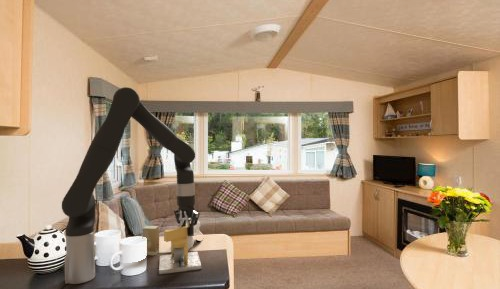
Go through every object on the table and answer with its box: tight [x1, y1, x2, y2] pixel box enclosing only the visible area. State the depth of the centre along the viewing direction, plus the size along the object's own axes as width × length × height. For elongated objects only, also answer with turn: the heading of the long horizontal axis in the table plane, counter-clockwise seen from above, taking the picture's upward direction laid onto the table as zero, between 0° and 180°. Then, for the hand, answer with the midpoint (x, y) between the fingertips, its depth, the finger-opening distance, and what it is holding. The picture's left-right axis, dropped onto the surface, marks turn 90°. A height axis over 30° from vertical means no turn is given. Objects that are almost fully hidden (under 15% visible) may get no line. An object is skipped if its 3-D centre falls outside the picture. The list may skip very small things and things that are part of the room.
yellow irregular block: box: [163, 226, 194, 248], centre depth 128 cm, size 12×6×7 cm, turn 130°
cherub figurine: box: [176, 218, 204, 251], centre depth 154 cm, size 13×12×20 cm
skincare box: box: [142, 225, 160, 256], centre depth 140 cm, size 6×4×12 cm
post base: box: [158, 244, 202, 275], centre depth 128 cm, size 16×16×10 cm
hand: (187, 234), depth 130 cm, fingers closed on yellow irregular block, 3 cm apart
